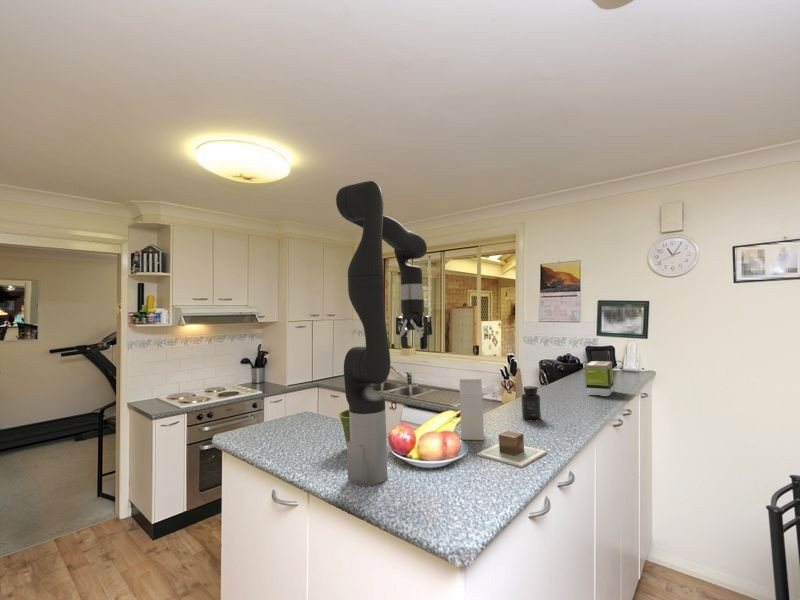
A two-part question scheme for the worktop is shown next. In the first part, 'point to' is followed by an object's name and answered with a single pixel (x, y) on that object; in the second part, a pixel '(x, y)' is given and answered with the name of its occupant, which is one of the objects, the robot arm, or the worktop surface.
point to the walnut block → (511, 443)
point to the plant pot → (345, 423)
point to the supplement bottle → (531, 404)
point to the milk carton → (471, 409)
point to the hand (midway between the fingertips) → (414, 348)
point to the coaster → (517, 460)
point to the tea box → (599, 377)
